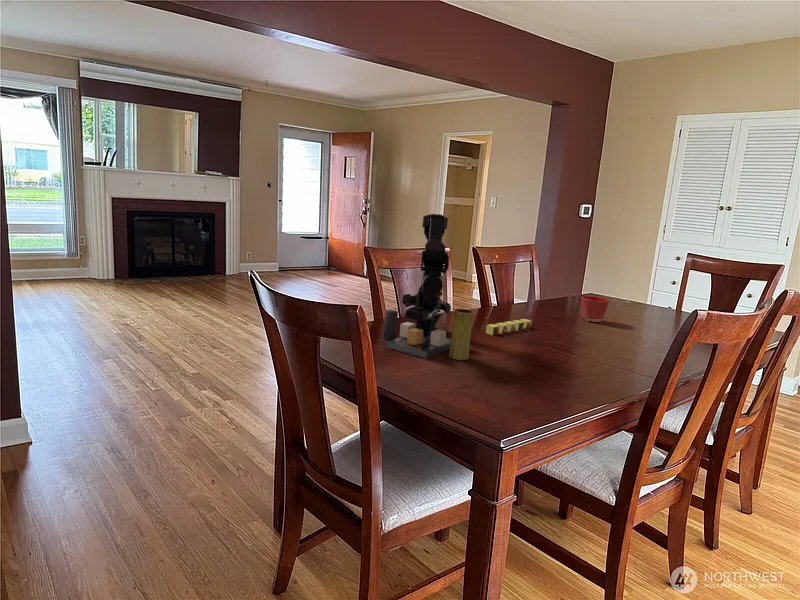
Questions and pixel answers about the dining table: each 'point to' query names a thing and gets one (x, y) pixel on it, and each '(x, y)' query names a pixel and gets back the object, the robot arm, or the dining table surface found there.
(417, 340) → the toggle mid
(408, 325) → the toggle left
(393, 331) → the cable post
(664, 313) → the dining table surface
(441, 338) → the toggle right
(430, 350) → the breaker panel
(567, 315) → the dining table surface
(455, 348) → the vase
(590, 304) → the flower pot
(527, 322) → the yellow picture block train
